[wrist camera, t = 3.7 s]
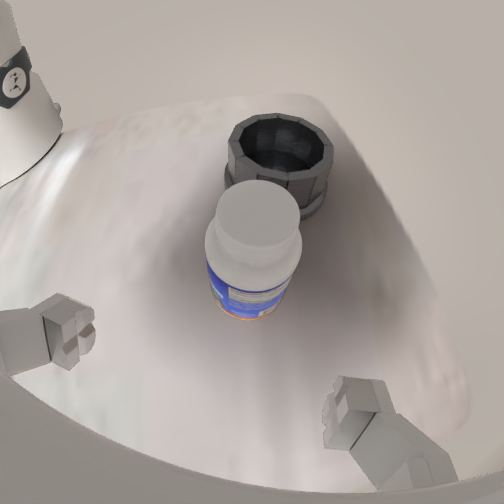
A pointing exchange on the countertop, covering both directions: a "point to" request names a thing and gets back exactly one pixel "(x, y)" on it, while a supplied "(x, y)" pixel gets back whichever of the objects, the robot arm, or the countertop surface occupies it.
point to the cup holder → (281, 157)
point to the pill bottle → (252, 248)
